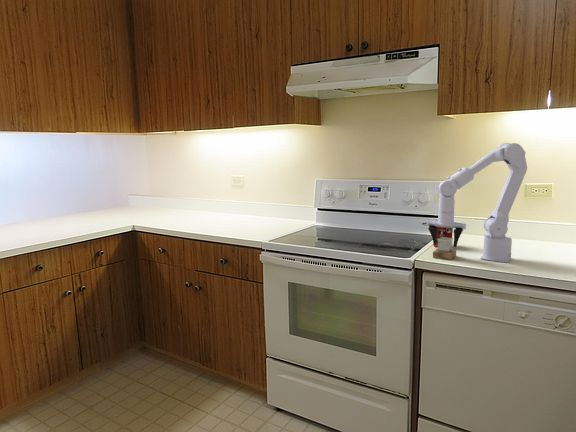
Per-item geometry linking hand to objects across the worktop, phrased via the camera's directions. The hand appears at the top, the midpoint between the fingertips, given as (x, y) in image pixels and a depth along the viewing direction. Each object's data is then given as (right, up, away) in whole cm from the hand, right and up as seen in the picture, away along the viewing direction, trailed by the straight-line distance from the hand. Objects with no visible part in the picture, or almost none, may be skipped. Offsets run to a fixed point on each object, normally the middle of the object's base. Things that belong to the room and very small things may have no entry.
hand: (445, 245), depth 164 cm
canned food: (+6, -2, +18) cm, 19 cm away
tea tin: (0, -2, +1) cm, 2 cm away
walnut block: (0, -5, +1) cm, 5 cm away
